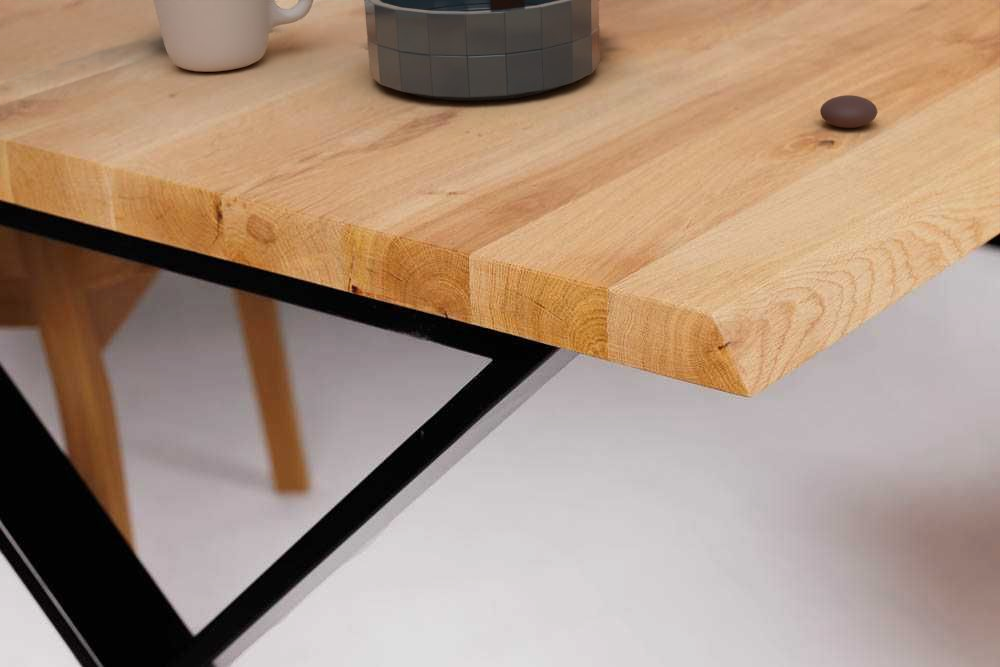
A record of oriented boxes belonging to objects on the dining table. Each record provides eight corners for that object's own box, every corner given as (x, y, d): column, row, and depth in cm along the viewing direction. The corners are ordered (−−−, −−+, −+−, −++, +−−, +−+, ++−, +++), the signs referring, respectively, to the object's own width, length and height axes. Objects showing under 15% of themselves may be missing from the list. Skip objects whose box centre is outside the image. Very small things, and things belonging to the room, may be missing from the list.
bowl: (518, 119, 81) (514, 22, 79) (325, 90, 89) (316, 0, 86) (639, 60, 92) (639, -27, 90) (457, 38, 99) (453, -43, 97)
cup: (309, 39, 101) (297, -78, 98) (332, 65, 94) (320, -60, 91) (153, 56, 98) (135, -63, 95) (165, 85, 91) (146, -43, 88)
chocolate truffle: (818, 133, 77) (820, 104, 76) (820, 116, 80) (821, 89, 79) (876, 134, 76) (878, 105, 76) (876, 118, 79) (878, 90, 78)
